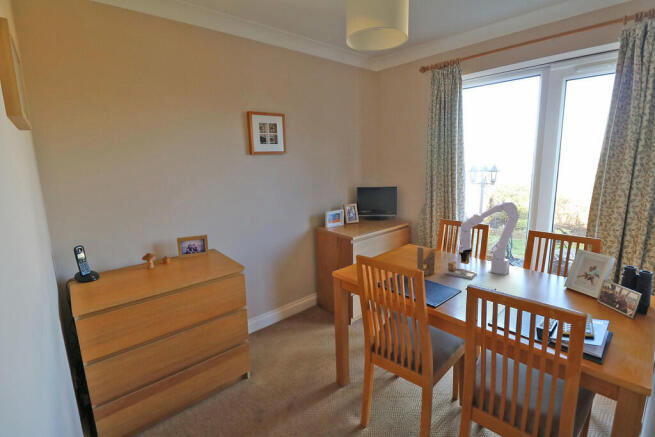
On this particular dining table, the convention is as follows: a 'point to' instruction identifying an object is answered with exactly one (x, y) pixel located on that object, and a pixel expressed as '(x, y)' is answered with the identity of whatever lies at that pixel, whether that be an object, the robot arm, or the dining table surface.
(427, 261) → the wooden block
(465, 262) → the tan cardboard box
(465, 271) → the rail
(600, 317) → the dining table surface
